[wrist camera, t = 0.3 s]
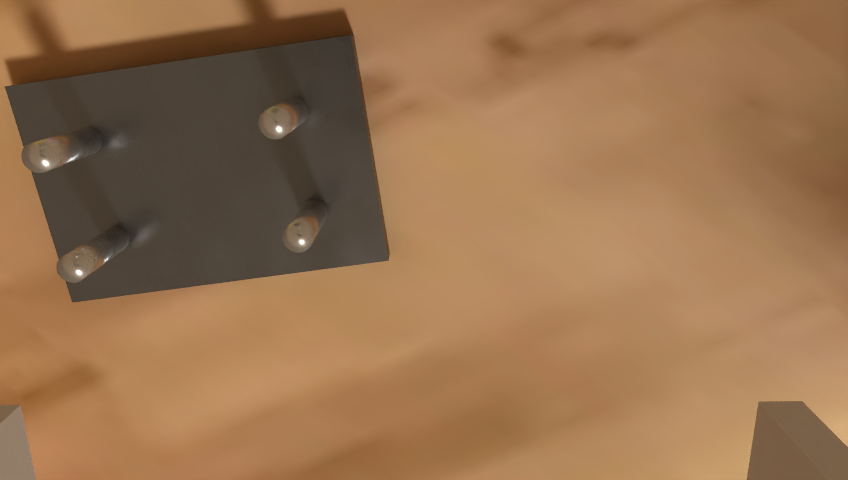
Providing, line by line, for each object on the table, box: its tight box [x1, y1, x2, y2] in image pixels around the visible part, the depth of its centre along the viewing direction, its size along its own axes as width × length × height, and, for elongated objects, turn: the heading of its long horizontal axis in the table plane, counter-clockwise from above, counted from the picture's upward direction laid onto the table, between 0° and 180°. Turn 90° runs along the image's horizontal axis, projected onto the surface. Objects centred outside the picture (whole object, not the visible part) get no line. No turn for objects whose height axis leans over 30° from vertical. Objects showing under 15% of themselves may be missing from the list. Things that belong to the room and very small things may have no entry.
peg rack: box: [5, 35, 390, 302], centre depth 35 cm, size 12×18×6 cm, turn 98°
